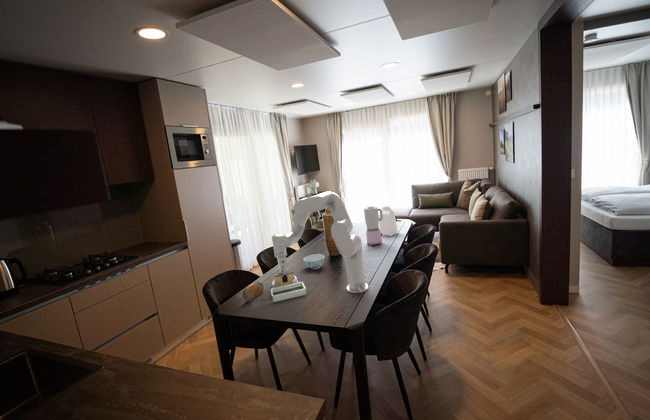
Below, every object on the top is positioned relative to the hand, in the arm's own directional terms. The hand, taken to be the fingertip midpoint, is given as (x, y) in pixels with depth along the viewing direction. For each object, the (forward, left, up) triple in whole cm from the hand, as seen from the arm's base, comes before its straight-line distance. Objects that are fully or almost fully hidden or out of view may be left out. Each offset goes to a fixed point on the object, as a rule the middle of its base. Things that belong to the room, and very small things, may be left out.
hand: (285, 280), depth 193 cm
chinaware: (+19, -24, -3) cm, 31 cm away
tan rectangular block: (0, 0, -2) cm, 2 cm away
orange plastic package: (-9, +20, -3) cm, 22 cm away
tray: (-15, 0, -3) cm, 15 cm away
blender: (+45, -83, -3) cm, 94 cm away
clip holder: (0, 0, -3) cm, 3 cm away
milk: (+66, -105, -3) cm, 124 cm away
